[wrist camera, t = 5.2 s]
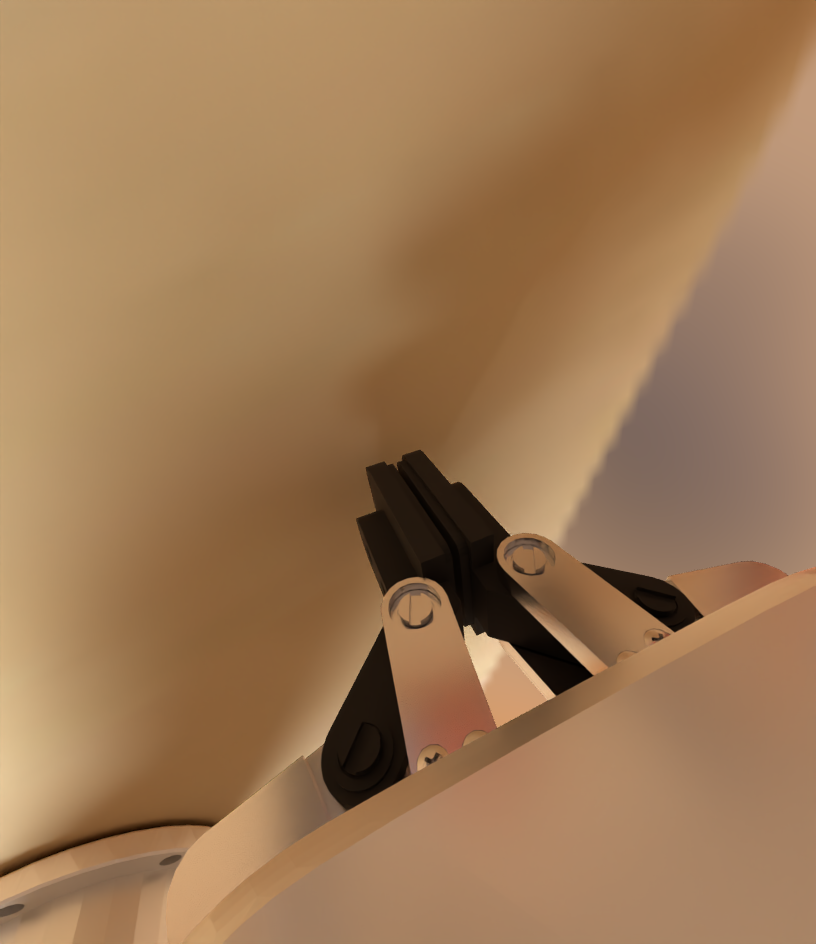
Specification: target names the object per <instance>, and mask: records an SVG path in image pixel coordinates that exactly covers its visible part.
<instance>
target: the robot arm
mask: <svg viewBox="0 0 816 944" xmlns="http://www.w3.org/2000/svg"><path fill="white" fill-rule="evenodd" d="M397 467H398V471H397V469H396V468H395V466H394V465H393V464H391V465H388V466H387V464H386V463H385V462H381V463H378V464H375V465H372V466H369V467H366V471H367V476H368V480H369V484H370V488H371V492H372V496H373V500H374V504H375V508H376V512H373V513H371V514H368V515H365V516H362V517H359V518H357V519H356V520H357V524H358V528H359V531H360V534H361V538H362V541H363V544H364V547H365V550H366V553H367V555H368V558H369V561H370V563H371V566H372V569H373V571H374V573H375V576H376V578H377V581H378V583H379V586H380V588H381V591H382V593H383V596H384V599H383V601H382V604H381V615H382V621H383V628H382V630H381V631H380V633H379V635H378V637H377V639H376V641H375V643H374V645H373V647H372V649H371V651H370V653H369V655H368V657H367V659H366V661H365V663H364V665H363V666H362V668H361V670H360V672H359V674H358V676H357V678H356V680H355V682H354V684H353V686H352V688H351V690H350V692H349V694H348V696H347V698H346V700H345V701H344V703H343V705H342V707H341V709H340V711H339V713H338V715H337V717H336V719H335V721H334V723H333V725H332V727H331V729H330V731H329V733H328V735H327V737H326V740H325V743H324V744H323V745H322V746H321V747H320V748H318V749H317V750H316V751H315V752H313V753H312V754H311V755H310V756H308V757H307V758H306V759H305V758H304V756H301V757H300V758H299V759H297V760H296V761H295V762H294V763H292V764H291V765H290V766H289V767H287V768H286V769H285V770H284V771H282V772H281V773H280V774H279V775H277V776H276V777H275V778H274V779H272V780H271V781H270V782H269V783H267V784H266V785H265V786H263V787H262V788H261V789H260V790H258V791H257V792H256V793H255V794H253V795H252V796H251V797H250V798H248V799H247V800H246V801H245V802H243V803H242V804H241V805H240V806H238V807H237V808H236V809H235V810H233V811H232V812H231V813H230V814H228V815H227V816H226V817H224V818H223V819H222V820H221V821H219V822H218V823H217V824H216V825H214V826H213V827H209V826H198V825H179V826H164V827H157V828H151V829H144V830H138V831H133V832H129V833H124V834H120V835H116V836H111V837H107V838H103V839H100V840H96V841H93V842H90V843H87V844H83V845H80V846H77V847H73V848H70V849H67V850H65V851H62V852H59V853H57V854H54V855H51V856H49V857H46V858H43V859H41V860H38V861H35V862H33V863H31V864H29V865H27V866H24V867H22V868H20V869H18V870H16V871H13V872H11V873H9V874H7V875H5V876H2V877H0V944H816V567H813V568H809V569H806V570H803V571H800V572H796V573H794V574H791V575H787V574H786V573H784V572H782V571H781V570H779V569H777V568H775V567H772V566H770V565H767V564H764V563H759V562H754V561H741V562H736V563H731V564H726V565H721V566H716V567H711V568H706V569H701V570H696V571H691V572H686V573H681V574H676V575H671V576H668V577H667V580H666V581H663V580H660V579H656V578H653V577H649V576H644V575H639V574H635V573H630V572H624V571H620V570H615V569H610V568H605V567H600V566H595V565H590V564H586V563H581V562H579V561H578V560H576V559H575V558H574V557H572V556H571V555H570V554H568V553H567V552H566V551H564V550H563V549H562V548H560V547H559V546H558V545H556V544H555V543H554V542H552V541H551V540H549V539H547V538H545V537H543V536H540V535H537V534H531V533H521V534H515V535H512V536H510V535H509V534H508V533H507V532H506V531H505V529H504V528H503V527H502V526H501V525H500V524H499V523H498V522H497V521H496V520H495V518H494V517H493V516H492V515H491V514H490V513H489V512H488V511H487V510H486V509H485V508H484V506H483V505H482V504H481V503H480V502H479V501H478V500H477V499H476V498H475V497H474V496H473V494H472V493H471V492H470V491H469V490H468V489H467V488H466V487H465V486H464V485H463V484H462V483H460V482H457V483H454V484H450V483H449V482H448V481H447V479H446V478H445V477H444V476H443V475H442V474H441V472H440V471H439V470H438V469H437V468H436V467H435V466H434V464H433V463H432V462H431V461H430V460H429V459H428V457H427V456H426V455H425V454H424V453H423V452H422V451H421V450H417V451H414V452H411V453H408V454H405V455H403V456H402V461H400V462H397ZM463 625H464V626H465V627H466V626H468V625H471V627H472V628H473V630H474V632H475V633H476V635H479V634H481V633H483V632H486V634H487V635H488V636H489V637H492V638H495V639H499V643H500V644H501V646H502V647H503V649H504V650H505V651H506V653H507V654H508V655H509V656H510V657H511V658H512V660H513V661H514V662H515V663H516V664H517V666H518V667H519V668H520V669H521V670H522V671H523V673H524V674H525V675H526V676H527V677H528V678H529V680H530V681H531V682H532V683H533V684H534V685H535V686H536V688H537V689H538V690H539V691H540V692H541V694H542V695H543V696H544V697H545V698H546V699H547V701H546V702H544V703H543V704H541V705H539V706H537V707H535V708H533V709H532V710H530V711H528V712H526V713H524V714H522V715H520V716H519V717H517V718H515V719H513V720H511V721H509V722H508V723H506V724H504V725H502V726H500V727H498V728H497V727H496V724H495V722H494V719H493V716H492V713H491V711H490V708H489V705H488V703H487V700H486V697H485V695H484V692H483V689H482V687H481V684H480V681H479V679H478V676H477V673H476V671H475V668H474V665H473V663H472V660H471V657H470V655H469V652H468V649H467V647H466V644H465V640H464V629H463Z"/></svg>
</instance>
